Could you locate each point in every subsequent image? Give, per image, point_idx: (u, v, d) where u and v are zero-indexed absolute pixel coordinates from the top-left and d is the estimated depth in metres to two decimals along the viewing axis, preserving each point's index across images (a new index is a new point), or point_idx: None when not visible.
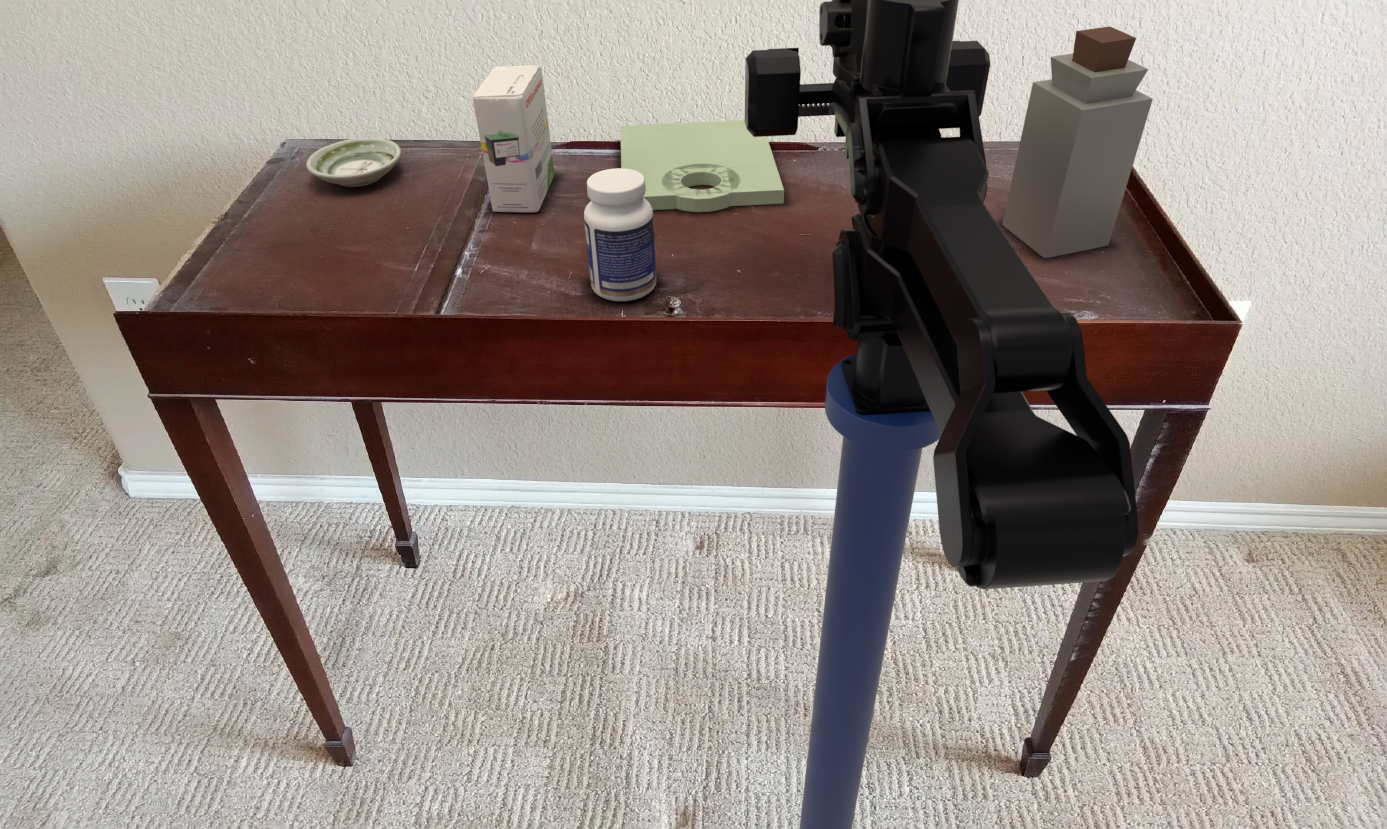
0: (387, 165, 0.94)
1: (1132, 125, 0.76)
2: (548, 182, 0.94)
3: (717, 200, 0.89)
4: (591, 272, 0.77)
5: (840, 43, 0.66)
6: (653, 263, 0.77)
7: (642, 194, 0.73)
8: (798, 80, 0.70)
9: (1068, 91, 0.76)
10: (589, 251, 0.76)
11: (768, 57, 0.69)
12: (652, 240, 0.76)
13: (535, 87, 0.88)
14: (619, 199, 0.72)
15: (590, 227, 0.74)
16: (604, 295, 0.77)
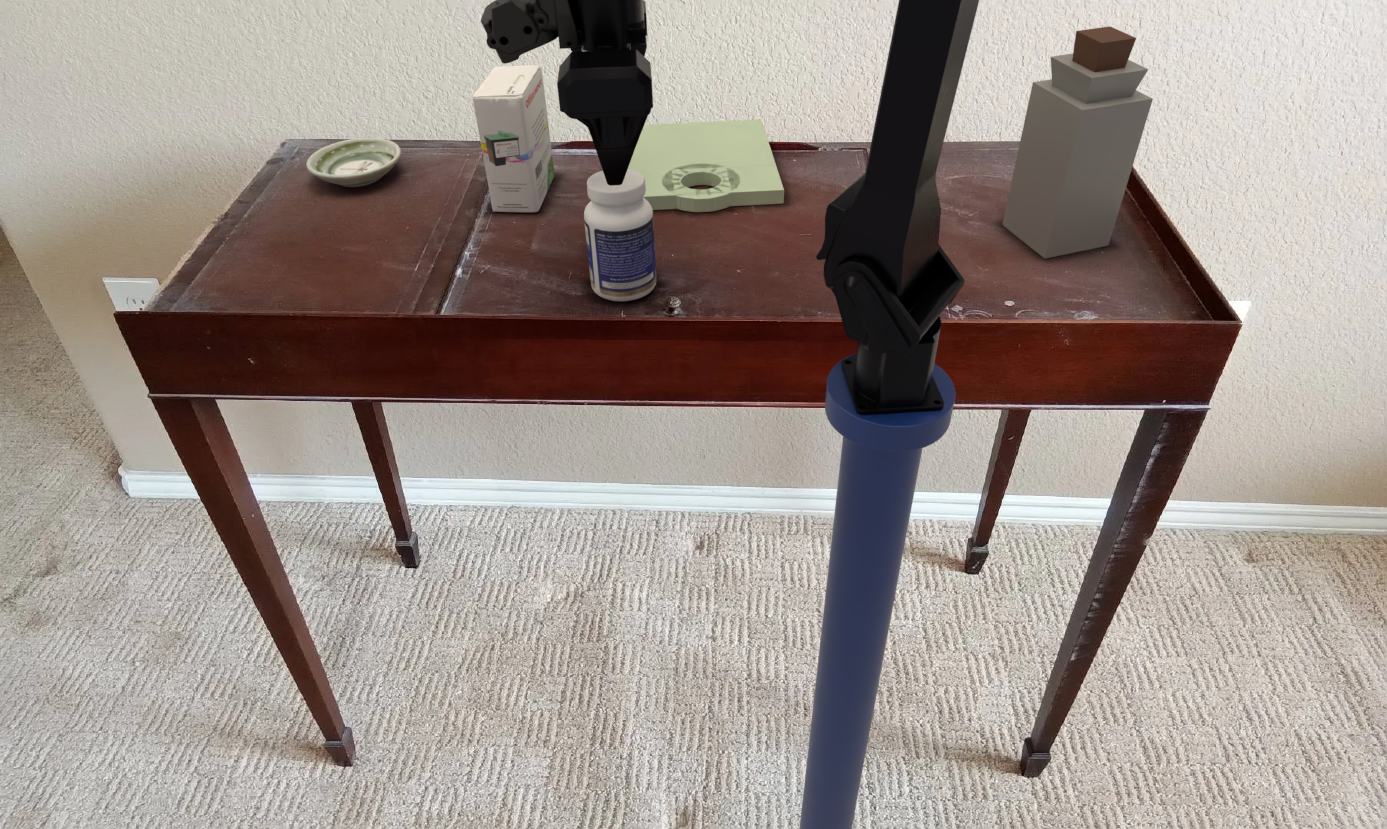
0: (387, 165, 0.94)
1: (1132, 125, 0.76)
2: (548, 182, 0.94)
3: (717, 200, 0.89)
4: (591, 272, 0.77)
5: (530, 11, 0.62)
6: (653, 263, 0.77)
7: (642, 194, 0.73)
8: (580, 52, 0.61)
9: (1068, 91, 0.76)
10: (589, 251, 0.76)
11: (558, 79, 0.60)
12: (652, 240, 0.76)
13: (535, 87, 0.88)
14: (619, 199, 0.72)
15: (590, 227, 0.74)
16: (604, 295, 0.77)
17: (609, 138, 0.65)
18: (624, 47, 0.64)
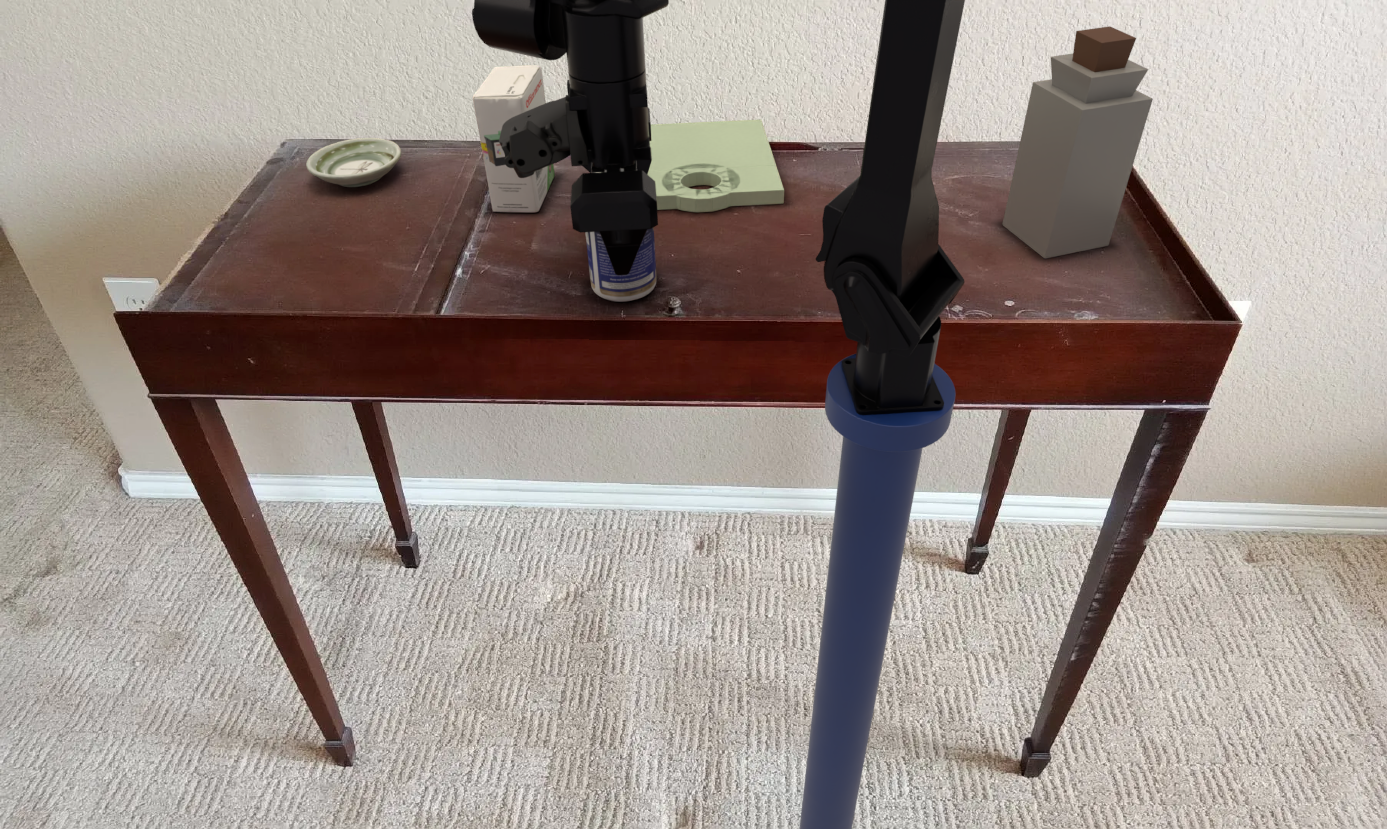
0: (387, 165, 0.94)
1: (1132, 125, 0.76)
2: (548, 182, 0.94)
3: (717, 200, 0.89)
4: (591, 272, 0.77)
5: (545, 135, 0.68)
6: (653, 263, 0.77)
7: None
8: (591, 173, 0.67)
9: (1068, 91, 0.76)
10: (589, 251, 0.76)
11: (571, 200, 0.66)
12: (652, 240, 0.76)
13: (535, 87, 0.88)
14: None
15: None
16: (604, 295, 0.77)
17: (617, 236, 0.72)
18: (631, 164, 0.70)
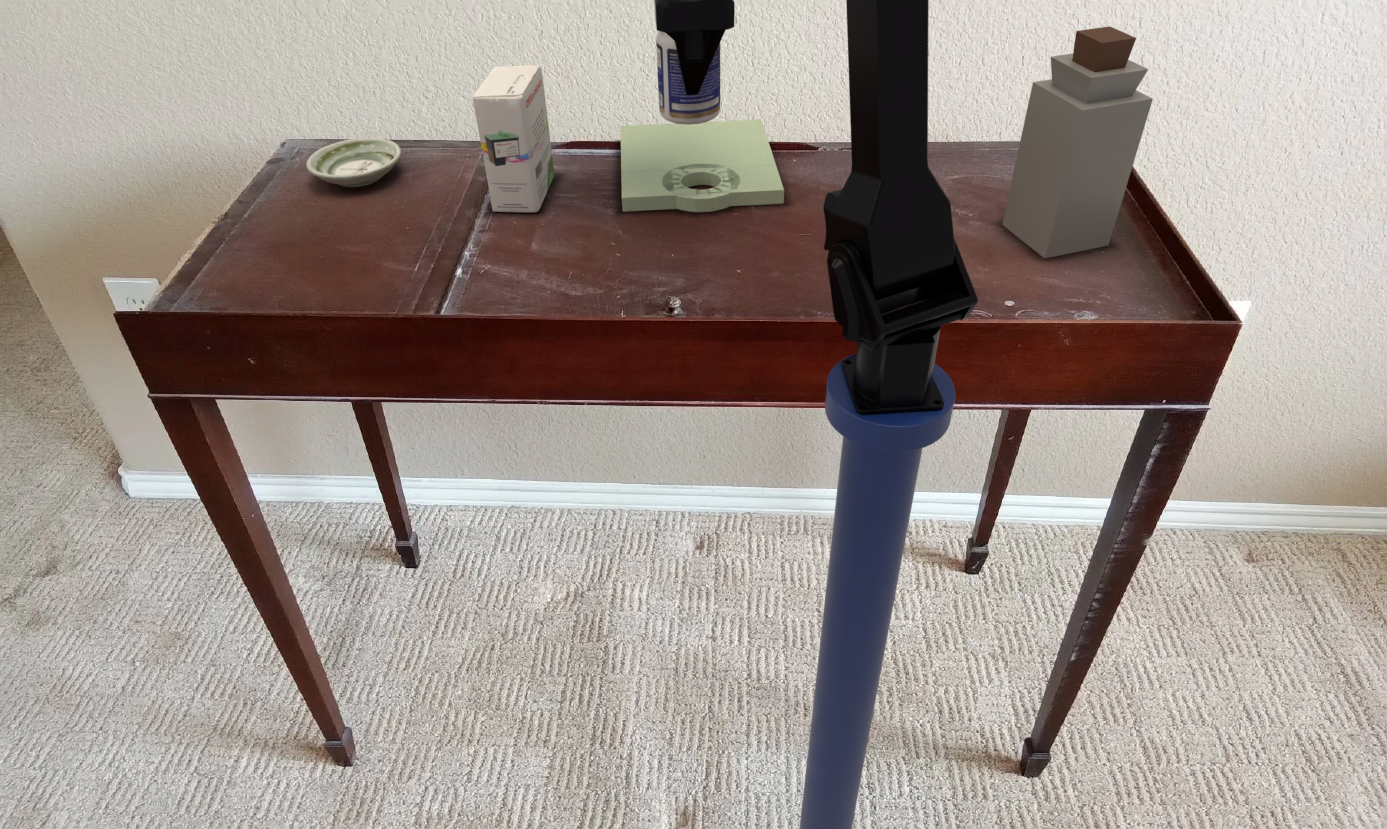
0: (387, 165, 0.94)
1: (1132, 125, 0.76)
2: (548, 182, 0.94)
3: (717, 200, 0.89)
4: (661, 96, 0.83)
5: None
6: (719, 88, 0.83)
7: None
8: None
9: (1068, 91, 0.76)
10: (660, 74, 0.82)
11: (655, 3, 0.72)
12: (719, 64, 0.82)
13: (535, 87, 0.88)
14: None
15: (663, 48, 0.80)
16: (673, 118, 0.83)
17: (691, 51, 0.78)
18: None
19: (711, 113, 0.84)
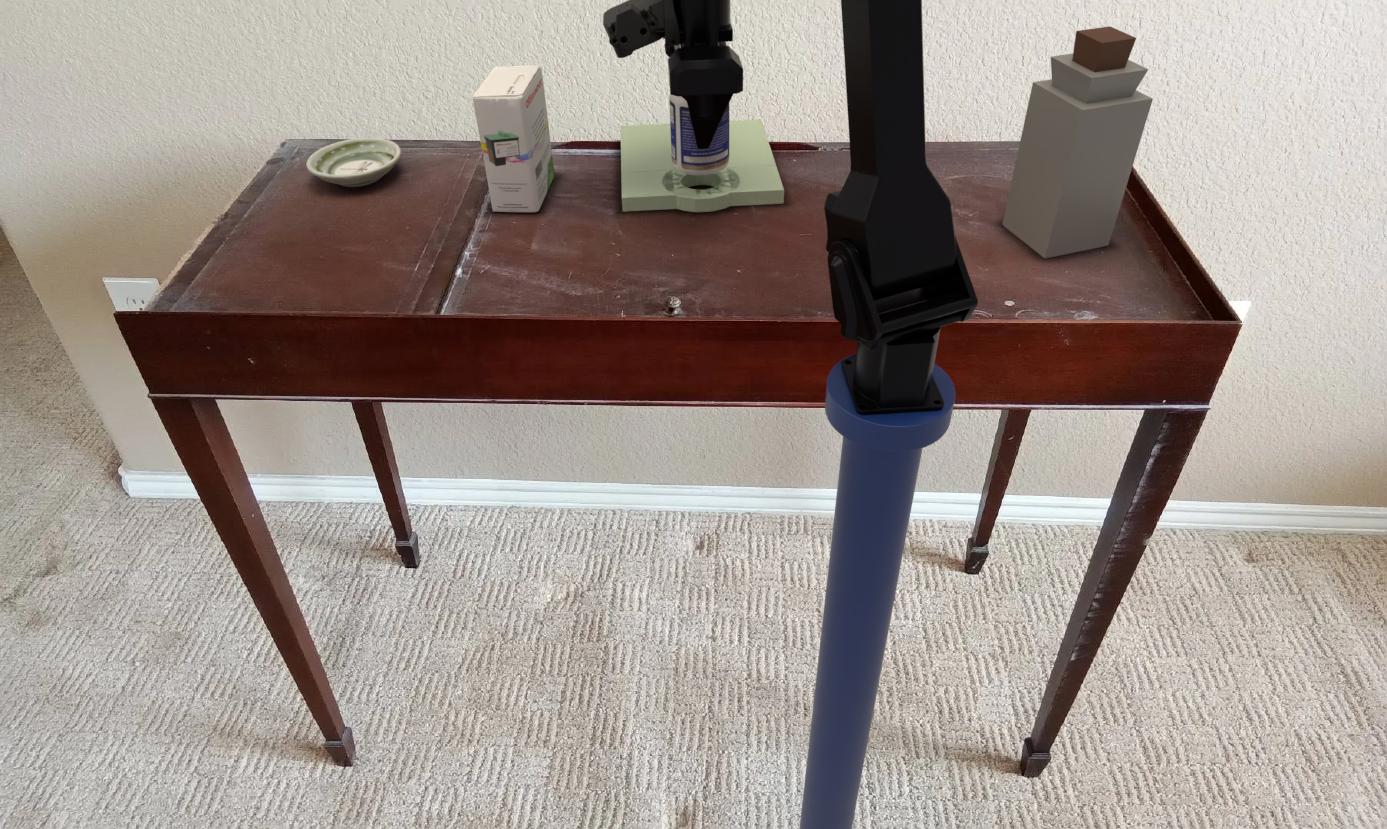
0: (387, 165, 0.94)
1: (1132, 125, 0.76)
2: (548, 182, 0.94)
3: (717, 200, 0.89)
4: (674, 149, 0.89)
5: (644, 16, 0.79)
6: (728, 141, 0.88)
7: None
8: (685, 48, 0.78)
9: (1068, 91, 0.76)
10: (673, 129, 0.87)
11: (669, 69, 0.77)
12: (728, 119, 0.87)
13: (535, 87, 0.88)
14: None
15: (676, 105, 0.85)
16: (685, 170, 0.89)
17: (702, 110, 0.83)
18: (716, 44, 0.81)
19: (721, 165, 0.89)
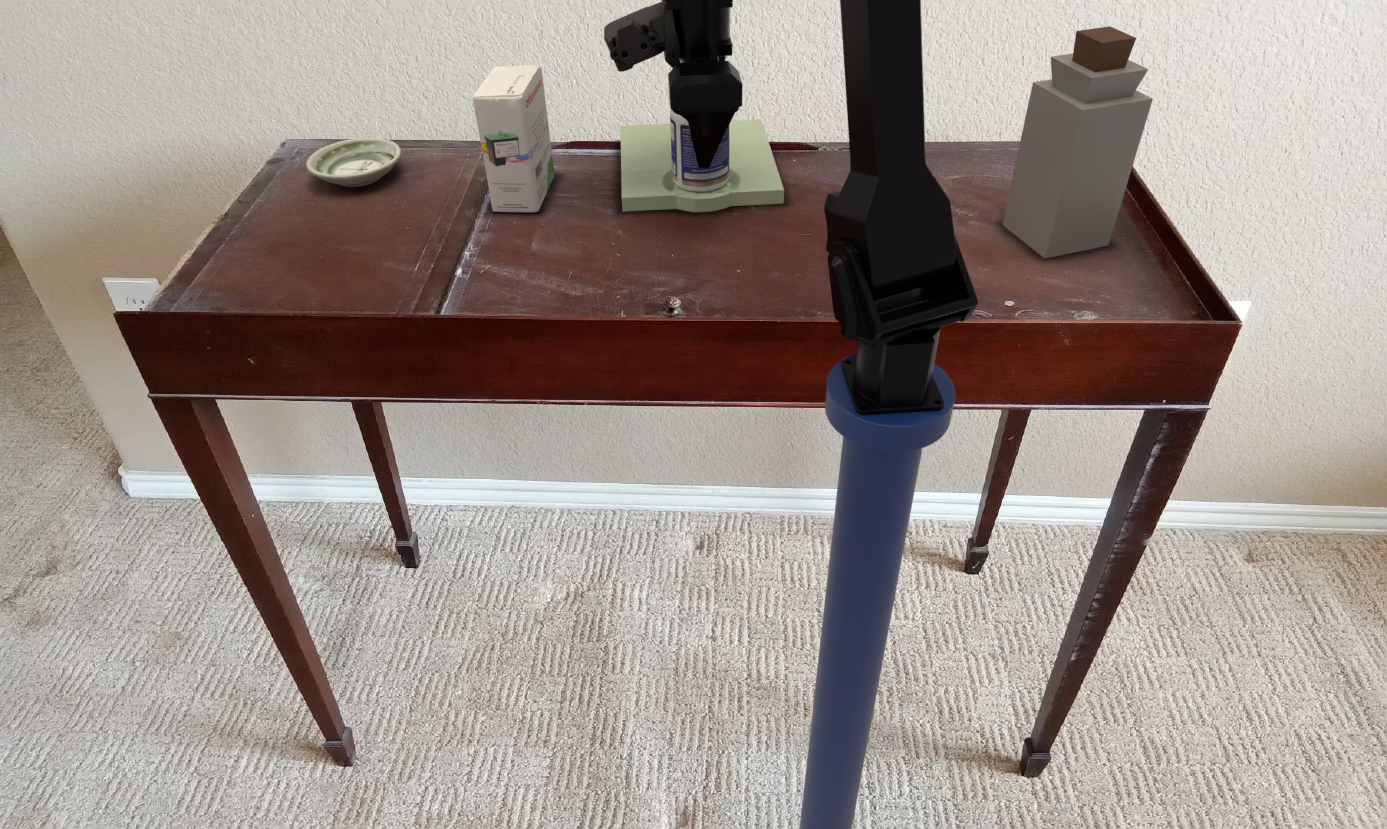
0: (387, 165, 0.94)
1: (1132, 125, 0.76)
2: (548, 182, 0.94)
3: (717, 200, 0.89)
4: (674, 166, 0.90)
5: (645, 31, 0.80)
6: (728, 158, 0.90)
7: None
8: (685, 63, 0.79)
9: (1068, 91, 0.76)
10: (674, 146, 0.88)
11: (669, 84, 0.78)
12: (728, 137, 0.88)
13: (535, 87, 0.88)
14: None
15: (677, 123, 0.86)
16: (686, 186, 0.90)
17: (703, 129, 0.83)
18: (715, 58, 0.82)
19: (721, 181, 0.90)
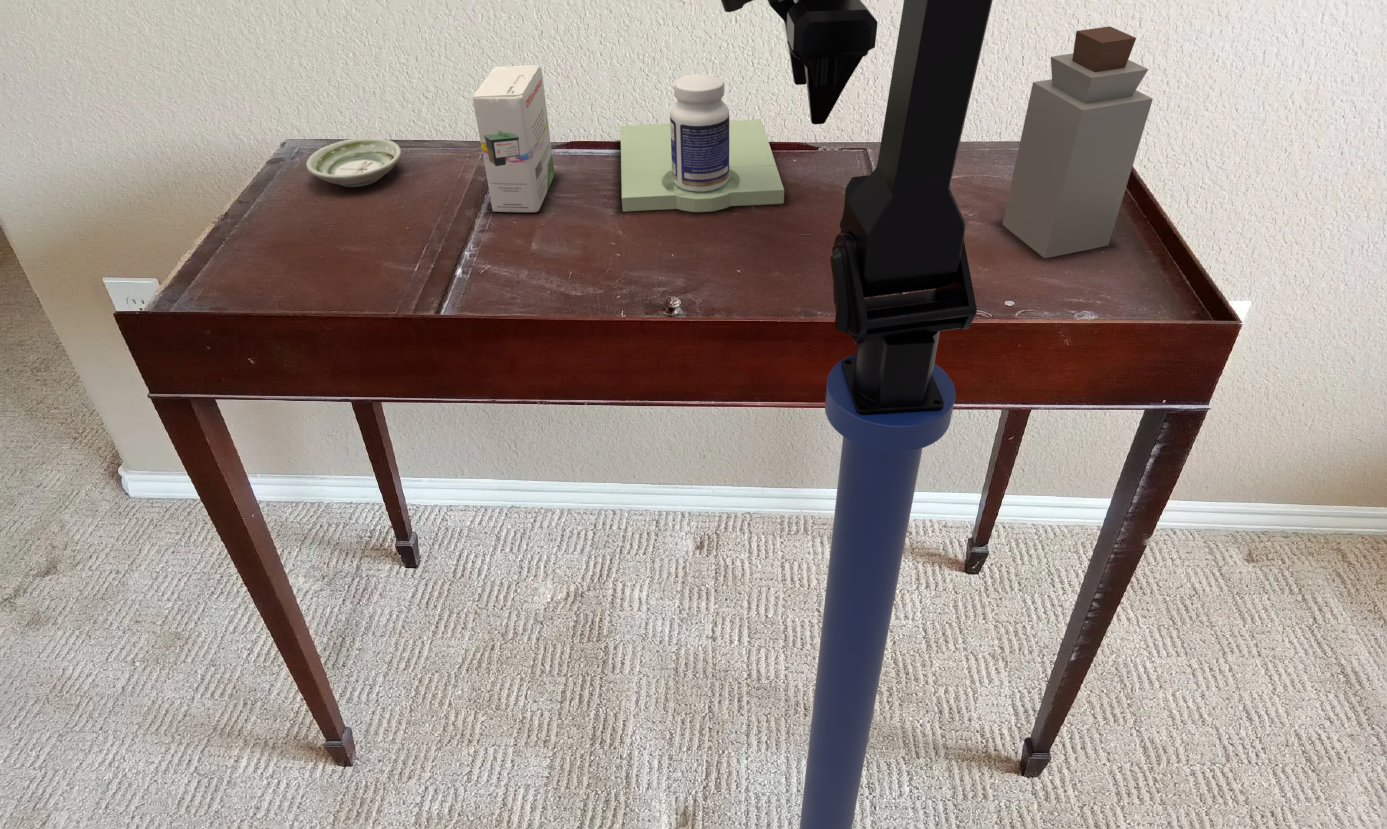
0: (387, 165, 0.94)
1: (1132, 125, 0.76)
2: (548, 182, 0.94)
3: (717, 200, 0.89)
4: (674, 166, 0.90)
5: None
6: (728, 158, 0.90)
7: (722, 94, 0.85)
8: None
9: (1068, 91, 0.76)
10: (674, 146, 0.88)
11: (792, 22, 0.68)
12: (728, 137, 0.88)
13: (535, 87, 0.88)
14: (703, 96, 0.84)
15: (677, 123, 0.86)
16: (686, 186, 0.90)
17: (822, 78, 0.73)
18: None
19: (721, 181, 0.90)
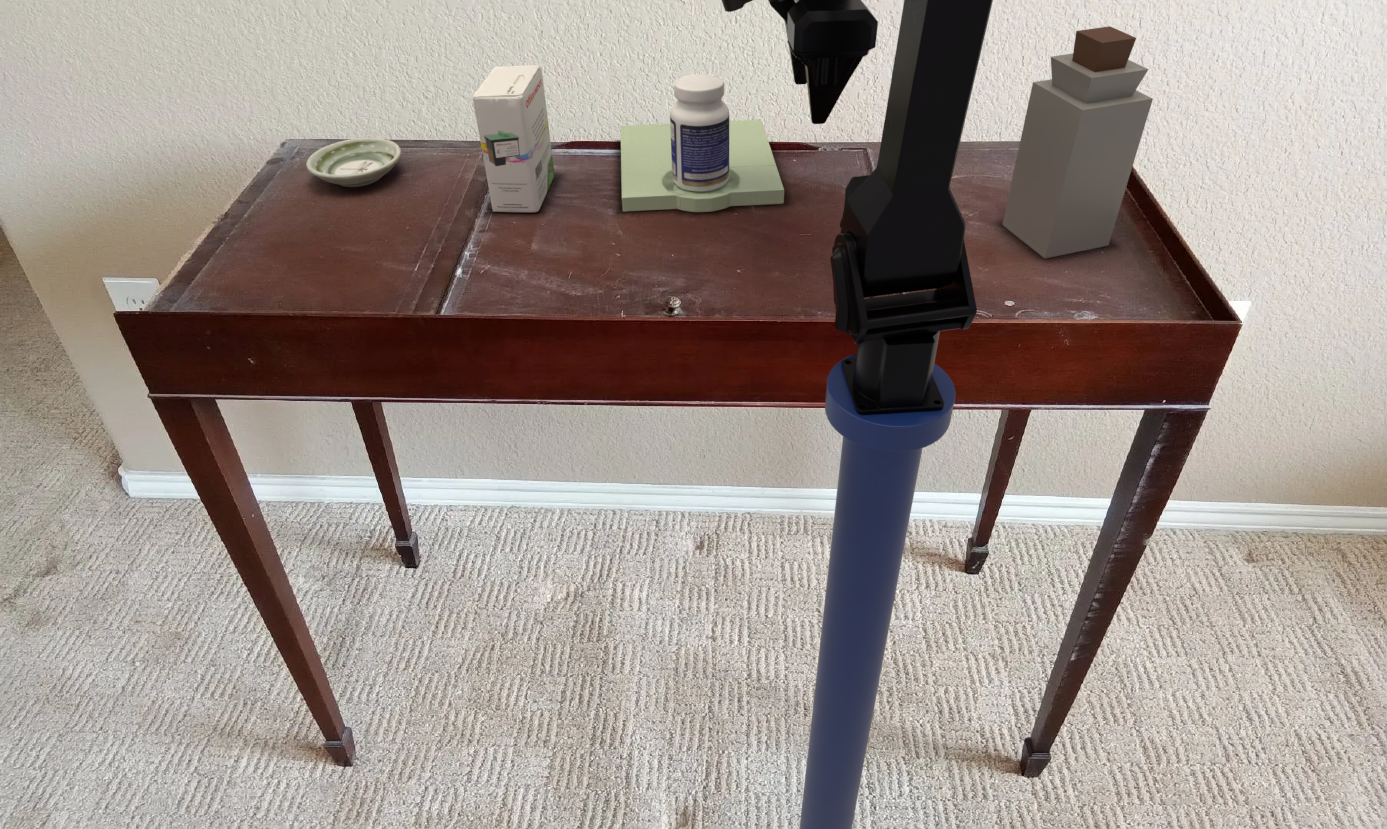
0: (387, 165, 0.94)
1: (1132, 125, 0.76)
2: (548, 182, 0.94)
3: (717, 200, 0.89)
4: (674, 166, 0.90)
5: None
6: (728, 158, 0.90)
7: (722, 94, 0.85)
8: None
9: (1068, 91, 0.76)
10: (674, 146, 0.88)
11: (792, 22, 0.68)
12: (728, 137, 0.88)
13: (535, 87, 0.88)
14: (703, 96, 0.84)
15: (677, 123, 0.86)
16: (686, 186, 0.90)
17: (823, 78, 0.73)
18: None
19: (721, 181, 0.90)
